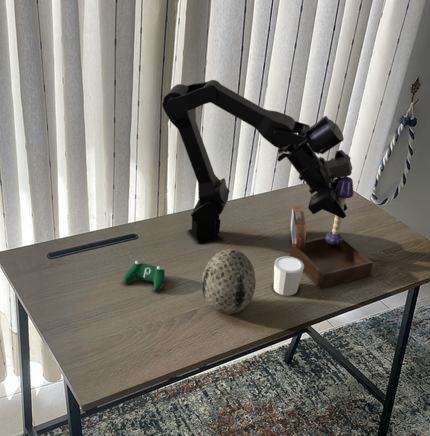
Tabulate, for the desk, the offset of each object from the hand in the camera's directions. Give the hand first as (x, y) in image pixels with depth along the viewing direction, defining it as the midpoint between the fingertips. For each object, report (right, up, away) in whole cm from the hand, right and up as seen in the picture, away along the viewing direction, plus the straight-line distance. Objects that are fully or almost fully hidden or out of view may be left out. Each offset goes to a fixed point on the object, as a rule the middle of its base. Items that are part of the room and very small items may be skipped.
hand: (345, 213), depth 163 cm
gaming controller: (-48, -17, -5) cm, 51 cm away
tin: (-10, -6, +13) cm, 18 cm away
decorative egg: (-29, -23, -11) cm, 39 cm away
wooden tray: (-3, -12, +5) cm, 14 cm away
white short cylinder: (-15, -18, -4) cm, 24 cm away
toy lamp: (-2, -6, +5) cm, 8 cm away
